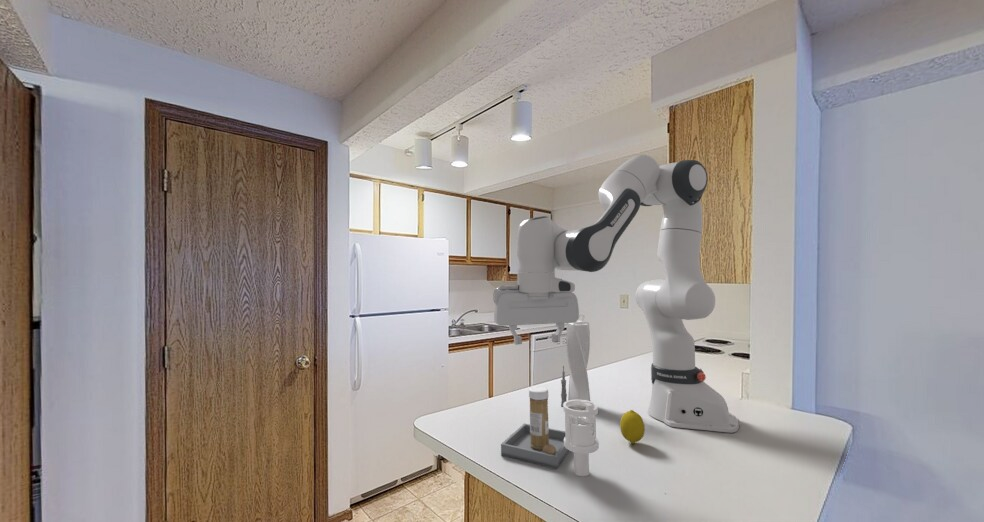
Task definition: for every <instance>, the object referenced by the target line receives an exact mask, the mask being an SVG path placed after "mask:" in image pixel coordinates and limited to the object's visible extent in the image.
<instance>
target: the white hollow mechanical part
mask: <svg viewBox="0 0 984 522" xmlns="http://www.w3.org/2000/svg"><path fill="white" fill-rule="evenodd" d="M575 405H581V406H585V407H586V408H585V410H583V411H580V410H574V409H570V408H568V407H569V406H575ZM562 409H563V412H564V428H565V430H564V431H565V437H564V446H565V448H567V449H568V450H570V451H569V452H572V453H573V473H574V474H575V475H576V476H577V477H578V476H579V477H587V476H589V475H590V459H589V458H590V454H592V453H595V452H598V450H599V445H600V444H599V443H600V441H599V439H598V438H597V417H596V416H597V415H598V413H599V405H598V404H597V403H595V402H593V401H591V400H590V401H587V400H569V401H568V400H566V402H564V403H563V407H562Z"/></svg>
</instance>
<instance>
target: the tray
mask: <svg viewBox="0 0 984 522" xmlns="http://www.w3.org/2000/svg"><path fill="white" fill-rule="evenodd" d="M548 436H549V444H551V445H553V446H554V447H555V448H556V454H555V455H552V454H547V453H543V450H536V449H533V448H532V447H531V446H530V443H531V433H530V423H523V424H522V425H521V426H520V427H519V428H517V430H515V431H514V432H513V433H512V434H511V435H510V436H509V437H507V438H506V439H505V440H504V441H502V443H500V455H501V456H502V457H507V458H510V459H511V458H512V459H515V460H519V461H523V462H527V463H530V464H531V463H532V464H536V465H539V466H543V467H547V468H551V469H555V470H557V469H558V468H559V466H560V465H561V463H562V462H563V461H564V459H565V458H566V456H567V455H568V454H567V453H569V452H571V451H570V450H568V449H567V448H565V446H564V437H565V430H560V429H554V428H550V427H549V433H548Z"/></svg>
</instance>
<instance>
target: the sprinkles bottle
mask: <svg viewBox="0 0 984 522" xmlns="http://www.w3.org/2000/svg"><path fill="white" fill-rule="evenodd" d="M528 397H529V424H530V433H531V443H530V446H531V447H532V448H533V449H536V450H543V448H544V446H545V445H547V444H549V436H548V433H549V428H550V427H549V407H548V404H549V401H548V400H549V389H548V388H547V387H544V386H533V387H530V388H528Z"/></svg>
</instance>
